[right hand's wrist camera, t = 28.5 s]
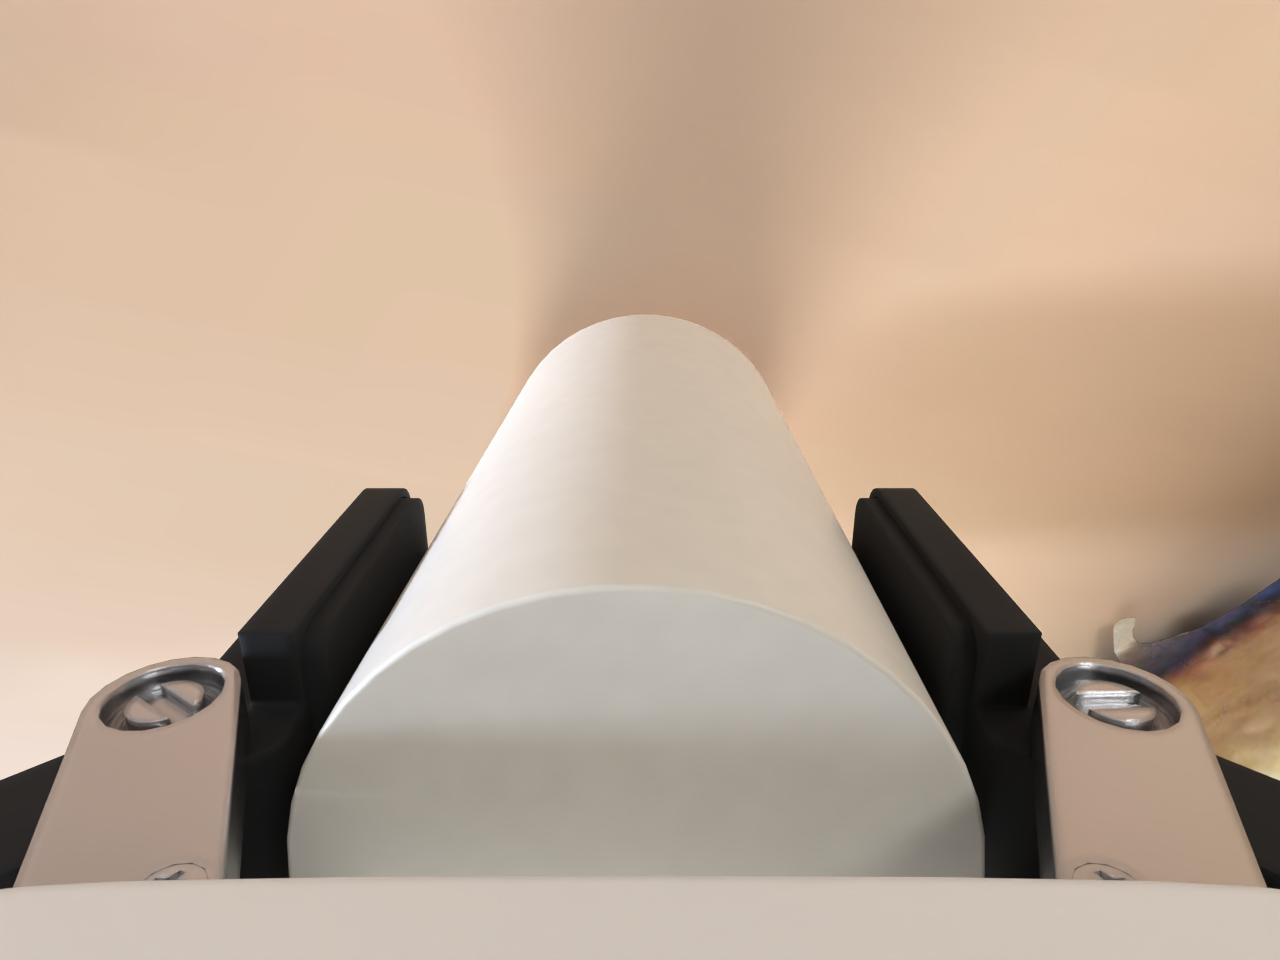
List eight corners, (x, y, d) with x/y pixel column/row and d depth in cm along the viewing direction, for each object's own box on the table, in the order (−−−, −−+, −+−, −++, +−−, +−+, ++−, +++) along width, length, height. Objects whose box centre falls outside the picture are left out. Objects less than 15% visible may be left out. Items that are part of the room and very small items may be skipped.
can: (656, 253, 16) (663, 423, 5) (835, 458, 18) (1124, 917, 7) (455, 439, 18) (141, 869, 7) (636, 614, 19) (615, 1198, 8)
